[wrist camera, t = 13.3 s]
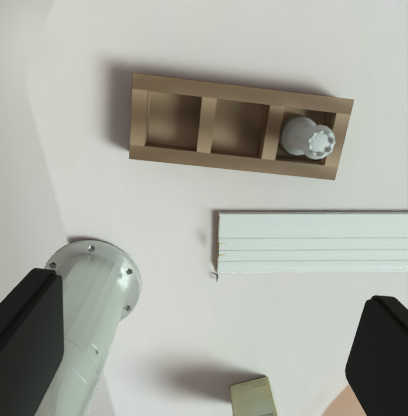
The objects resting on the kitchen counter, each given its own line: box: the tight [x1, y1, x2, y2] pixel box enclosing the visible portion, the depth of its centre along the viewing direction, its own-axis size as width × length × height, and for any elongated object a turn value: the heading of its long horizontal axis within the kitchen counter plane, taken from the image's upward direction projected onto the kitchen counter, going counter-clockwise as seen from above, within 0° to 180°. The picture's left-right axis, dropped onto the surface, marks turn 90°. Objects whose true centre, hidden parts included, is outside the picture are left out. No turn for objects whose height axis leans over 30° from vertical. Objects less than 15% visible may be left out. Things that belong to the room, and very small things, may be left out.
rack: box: [129, 73, 354, 180], centre depth 36 cm, size 9×23×4 cm, turn 84°
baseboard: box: [216, 212, 408, 279], centre depth 42 cm, size 30×3×10 cm
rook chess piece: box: [278, 115, 335, 160], centre depth 34 cm, size 4×4×8 cm
